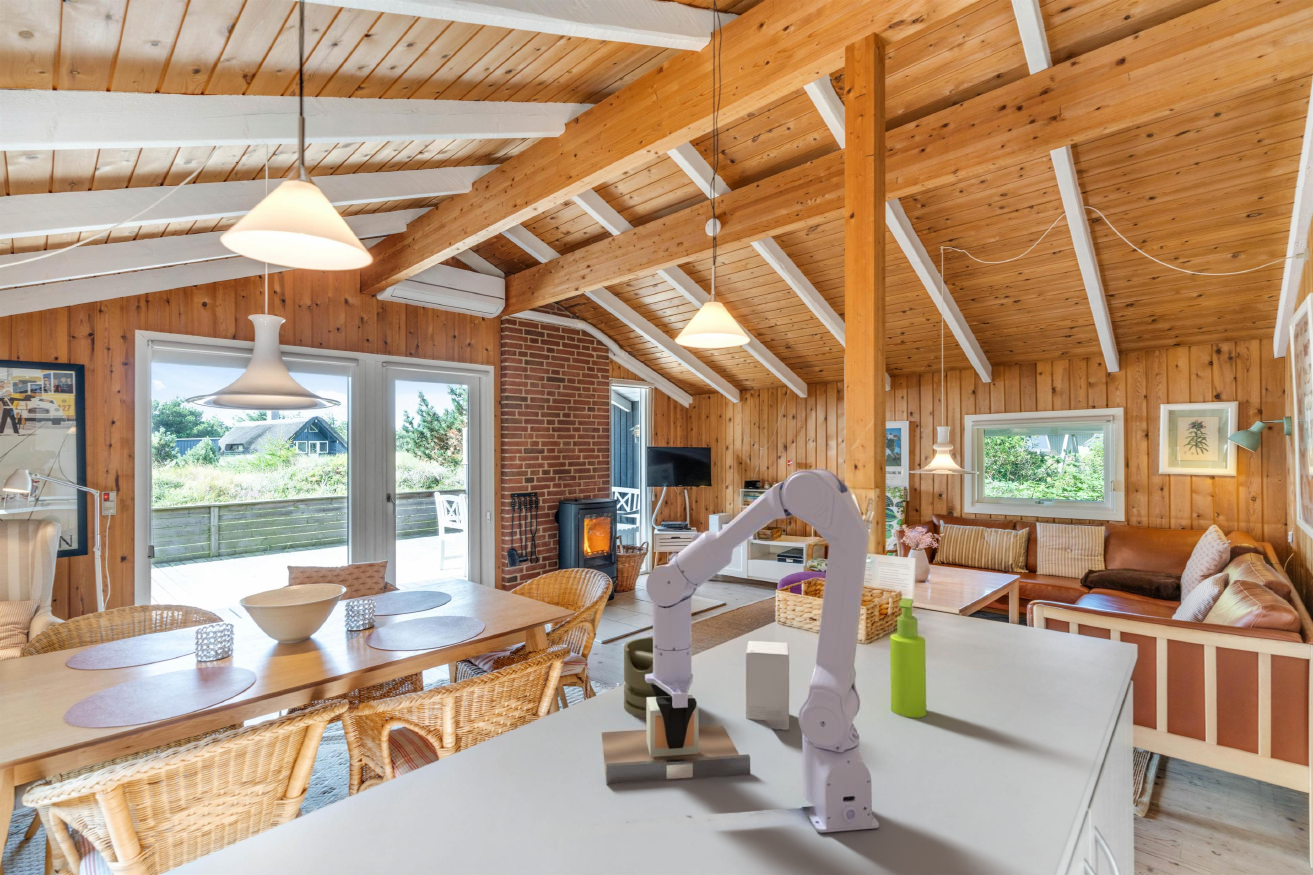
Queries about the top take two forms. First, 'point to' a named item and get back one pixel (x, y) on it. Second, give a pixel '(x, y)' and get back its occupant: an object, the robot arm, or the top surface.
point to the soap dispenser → (908, 665)
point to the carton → (658, 736)
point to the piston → (637, 675)
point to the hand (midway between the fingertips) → (672, 737)
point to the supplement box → (768, 683)
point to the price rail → (677, 769)
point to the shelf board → (636, 749)
